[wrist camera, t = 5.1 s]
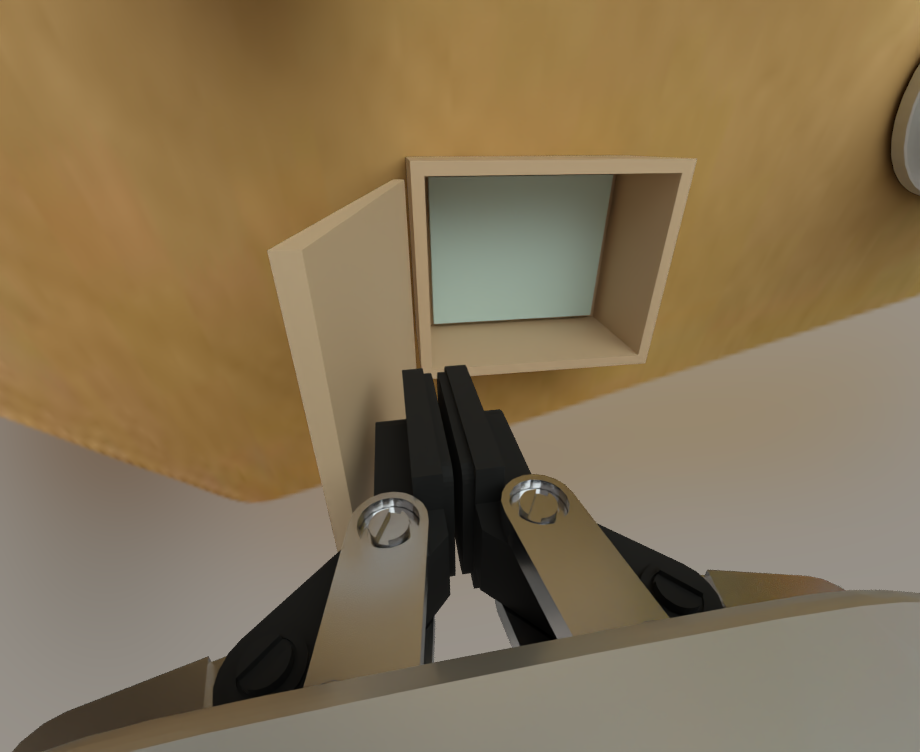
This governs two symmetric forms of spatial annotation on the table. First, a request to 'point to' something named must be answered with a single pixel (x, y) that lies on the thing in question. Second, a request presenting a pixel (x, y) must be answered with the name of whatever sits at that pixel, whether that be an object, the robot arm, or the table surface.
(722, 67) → the table surface
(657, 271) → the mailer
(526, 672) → the robot arm
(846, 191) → the table surface
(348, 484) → the lid
